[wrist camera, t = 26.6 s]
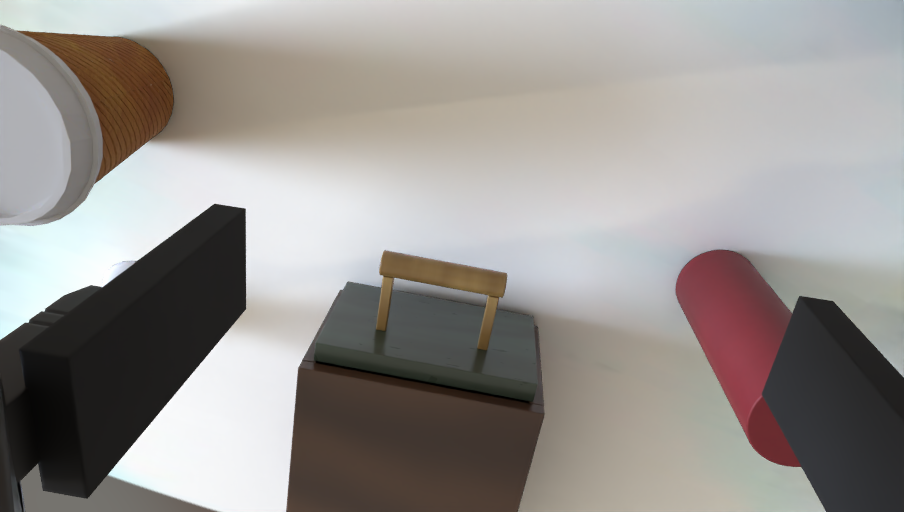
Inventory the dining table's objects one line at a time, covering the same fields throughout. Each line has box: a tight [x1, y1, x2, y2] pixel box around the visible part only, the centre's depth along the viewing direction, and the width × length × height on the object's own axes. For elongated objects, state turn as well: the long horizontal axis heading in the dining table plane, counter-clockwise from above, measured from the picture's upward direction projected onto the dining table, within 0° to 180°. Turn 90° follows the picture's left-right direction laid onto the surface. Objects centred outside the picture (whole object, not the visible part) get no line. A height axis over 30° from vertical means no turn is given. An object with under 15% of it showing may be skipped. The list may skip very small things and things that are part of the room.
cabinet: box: [286, 290, 544, 512], centre depth 44 cm, size 19×14×10 cm
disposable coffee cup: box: [0, 25, 173, 226], centre depth 35 cm, size 10×10×12 cm
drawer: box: [314, 250, 538, 402], centre depth 42 cm, size 22×12×8 cm, turn 171°
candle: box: [676, 250, 801, 467], centre depth 36 cm, size 5×5×14 cm
